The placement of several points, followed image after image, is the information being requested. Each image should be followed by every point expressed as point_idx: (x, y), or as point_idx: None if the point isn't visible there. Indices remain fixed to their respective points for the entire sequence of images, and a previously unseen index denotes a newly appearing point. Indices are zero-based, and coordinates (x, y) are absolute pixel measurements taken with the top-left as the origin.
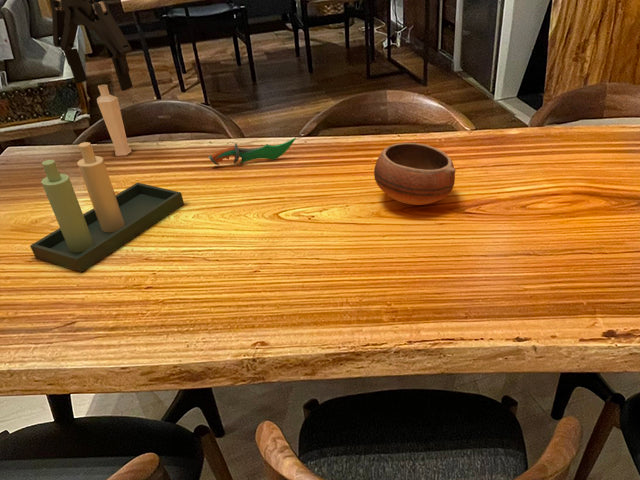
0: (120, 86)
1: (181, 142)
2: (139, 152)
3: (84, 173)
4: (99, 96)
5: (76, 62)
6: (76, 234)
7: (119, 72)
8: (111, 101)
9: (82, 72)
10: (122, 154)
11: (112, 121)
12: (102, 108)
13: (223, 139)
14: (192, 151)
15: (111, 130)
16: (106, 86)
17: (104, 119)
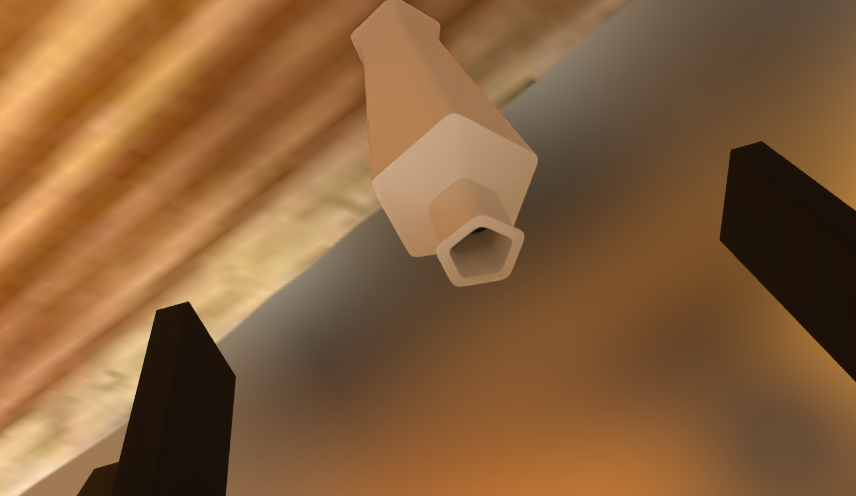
0: (181, 327)
1: (279, 274)
2: (329, 101)
3: None
4: (509, 176)
5: (843, 310)
6: None
7: (128, 454)
8: (375, 193)
9: (767, 265)
10: (364, 24)
11: (383, 99)
12: (423, 108)
13: None
14: (139, 258)
15: (397, 59)
16: (446, 271)
17: (424, 70)
